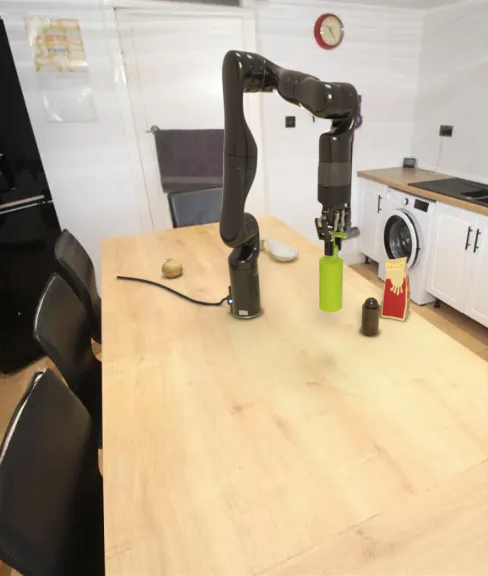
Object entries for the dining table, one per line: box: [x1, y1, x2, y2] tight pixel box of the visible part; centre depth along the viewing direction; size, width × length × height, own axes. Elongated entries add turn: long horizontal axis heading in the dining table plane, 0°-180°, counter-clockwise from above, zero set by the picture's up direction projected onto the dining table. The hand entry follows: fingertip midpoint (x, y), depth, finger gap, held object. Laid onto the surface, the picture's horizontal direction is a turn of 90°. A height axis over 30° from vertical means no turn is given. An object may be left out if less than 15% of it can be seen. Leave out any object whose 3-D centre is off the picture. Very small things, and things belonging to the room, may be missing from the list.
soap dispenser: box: [318, 231, 349, 313], centre depth 102 cm, size 6×7×20 cm
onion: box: [160, 258, 183, 279], centre depth 161 cm, size 8×8×7 cm
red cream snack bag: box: [379, 256, 411, 322], centre depth 131 cm, size 9×9×20 cm
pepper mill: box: [360, 296, 381, 337], centre depth 122 cm, size 5×5×12 cm
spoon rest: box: [260, 236, 300, 263], centre depth 181 cm, size 24×12×7 cm, turn 48°
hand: (332, 252), depth 99 cm, fingers closed on soap dispenser, 3 cm apart
